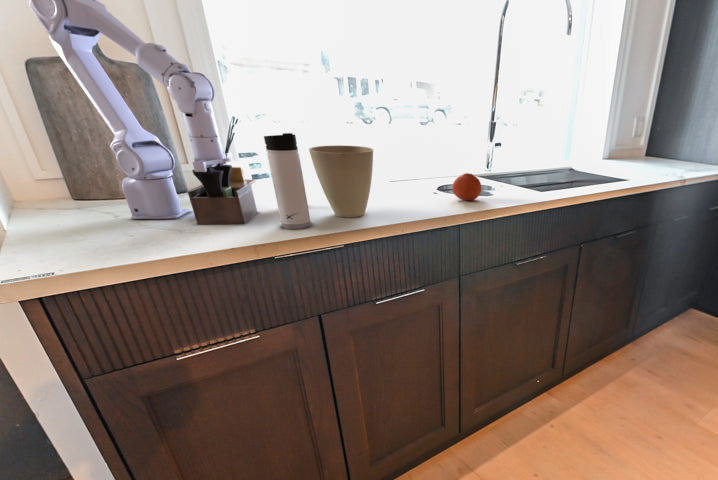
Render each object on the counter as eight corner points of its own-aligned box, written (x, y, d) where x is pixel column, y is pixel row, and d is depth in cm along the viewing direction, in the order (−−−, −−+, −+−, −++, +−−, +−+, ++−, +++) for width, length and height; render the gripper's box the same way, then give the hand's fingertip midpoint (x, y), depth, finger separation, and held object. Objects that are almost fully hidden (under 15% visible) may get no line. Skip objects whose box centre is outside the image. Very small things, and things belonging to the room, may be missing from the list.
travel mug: (294, 231, 96) (275, 134, 86) (276, 226, 99) (256, 131, 89) (317, 225, 101) (302, 133, 91) (300, 221, 104) (283, 130, 94)
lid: (205, 189, 101) (200, 173, 99) (221, 181, 111) (216, 166, 109) (243, 189, 103) (239, 173, 101) (255, 182, 112) (252, 166, 110)
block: (210, 207, 98) (205, 189, 96) (216, 204, 102) (212, 186, 100) (230, 207, 99) (225, 190, 97) (235, 203, 103) (230, 186, 101)
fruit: (467, 195, 139) (467, 169, 135) (486, 200, 134) (487, 173, 130) (446, 199, 133) (445, 172, 129) (465, 204, 128) (465, 176, 124)
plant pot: (309, 213, 111) (297, 146, 103) (360, 205, 121) (353, 144, 113) (338, 224, 102) (328, 153, 95) (390, 215, 112) (385, 150, 104)
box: (197, 224, 98) (187, 191, 94) (214, 213, 107) (205, 182, 104) (245, 223, 100) (237, 191, 96) (257, 212, 109) (250, 183, 106)
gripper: (212, 139, 88) (230, 206, 94) (234, 134, 100) (248, 193, 107) (174, 138, 86) (194, 206, 93) (201, 133, 99) (217, 193, 105)
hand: (221, 199), depth 100 cm, fingers closed on block, 4 cm apart
